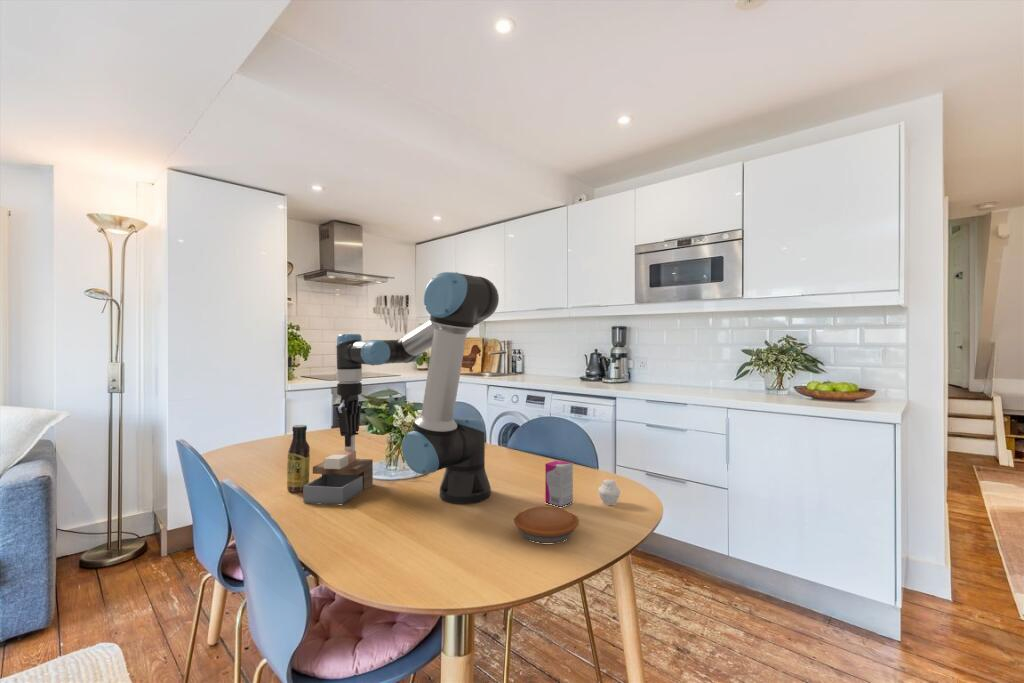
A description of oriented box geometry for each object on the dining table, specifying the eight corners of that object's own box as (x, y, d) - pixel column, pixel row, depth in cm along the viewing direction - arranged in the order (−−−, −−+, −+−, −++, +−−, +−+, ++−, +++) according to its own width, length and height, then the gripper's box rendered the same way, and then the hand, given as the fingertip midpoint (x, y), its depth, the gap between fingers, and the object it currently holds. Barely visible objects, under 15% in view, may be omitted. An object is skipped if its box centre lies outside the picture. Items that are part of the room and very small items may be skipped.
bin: (362, 491, 144) (362, 475, 144) (342, 505, 132) (342, 488, 132) (326, 489, 146) (326, 473, 146) (303, 502, 134) (303, 486, 134)
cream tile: (348, 464, 144) (348, 455, 144) (339, 469, 139) (339, 459, 139) (333, 464, 145) (333, 454, 145) (324, 468, 140) (324, 458, 140)
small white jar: (623, 502, 134) (623, 478, 134) (615, 509, 129) (615, 483, 129) (603, 498, 137) (603, 474, 137) (594, 504, 132) (594, 479, 132)
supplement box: (573, 503, 133) (573, 463, 133) (560, 509, 129) (560, 467, 129) (557, 498, 137) (557, 459, 137) (544, 503, 133) (544, 463, 133)
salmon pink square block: (356, 460, 149) (355, 451, 149) (348, 464, 144) (347, 454, 144) (341, 459, 150) (341, 450, 150) (332, 464, 145) (332, 454, 145)
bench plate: (372, 484, 151) (372, 459, 151) (356, 495, 140) (356, 468, 140) (332, 482, 153) (331, 457, 153) (312, 493, 142) (312, 466, 142)
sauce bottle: (282, 491, 144) (281, 426, 144) (298, 485, 150) (298, 423, 150) (298, 494, 142) (298, 428, 141) (314, 487, 147) (314, 424, 147)
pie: (514, 521, 120) (514, 502, 120) (575, 522, 120) (575, 502, 120) (512, 548, 105) (512, 526, 105) (582, 549, 105) (582, 527, 105)
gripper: (348, 380, 157) (349, 450, 157) (327, 384, 144) (328, 460, 145) (369, 380, 156) (370, 451, 156) (350, 384, 143) (350, 461, 143)
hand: (349, 455), depth 150 cm, fingers closed
